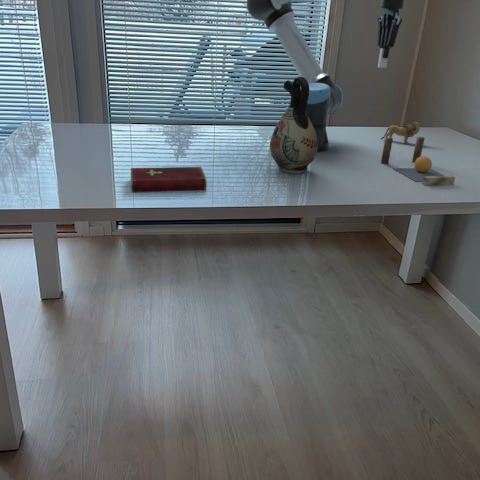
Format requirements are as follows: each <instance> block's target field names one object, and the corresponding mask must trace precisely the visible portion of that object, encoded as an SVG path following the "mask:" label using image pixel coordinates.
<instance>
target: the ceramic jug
mask: <svg viewBox="0 0 480 480" xmlns="http://www.w3.org/2000/svg"><path fill="white" fill-rule="evenodd" d="M283 89H284V90H285V91H286V92H288V93H289V95H290V101H289V102H290V104H289V106H288V107H287V109H286V111H284V113H283V114H282V116H280V119H279V120H278V121H277V124H276V125H275V127H274V129H273V132H272V134H271V137H270V141H269V142H270V143H269V144H270V145H269V150H270V151H269V152H270V155H271V157H272V159H273V160H274V162H275V163H276V165H277V167H278V170H280V171H281V172H283V173H287V174H302V173H305V172H307V170H308V166H309V165H310V164H312V162H313V161H314V160H315V158H316V156H317V153H318V152H317V137H316V133H315V130H314V127H313V125H312V123H311V121H310V119H309V117H308V116H307V114H306V107H307V101H308V97H309V84H308V82H307V80H306V79H305V78H304V77H300V76H298V77H295V78H294V79H293V81H292V82H291V81H290V80H288V79H287V80H286V81H285V82H284V83H283Z"/></svg>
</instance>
